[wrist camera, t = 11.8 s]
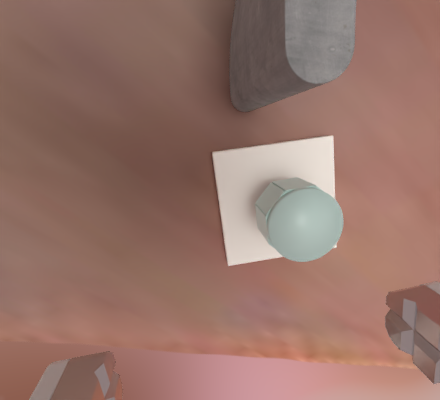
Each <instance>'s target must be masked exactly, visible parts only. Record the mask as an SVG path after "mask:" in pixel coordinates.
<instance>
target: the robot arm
mask: <svg viewBox="0 0 440 400" xmlns="http://www.w3.org/2000/svg"><path fill="white" fill-rule="evenodd" d="M386 305H387V306H388V307H389V308H390V310H389V312H388V313H387V315H386V316H385V326H386V329H387V332H388V335H389V337H390V338H391V340H392V341H393V343H394V344H395V345H396V346H397V347H398V348H399V349H400V350H402V351H404V352H406V353H408V354H410V355H412V360H413V363H414V364H415V365H416V366H417V367H418V368H419V369H420V370H421V371H422V372H423V373H424V374H425V375H426V376H427V377H428V378H429V380H431V382H432V383H434V384H436V383H440V282H437V281H435V282H430V283H426V284H422V285H419V286H414V287H410V288H405V289H401V290H396V291H392V292H389V293H388V295H387V296H386ZM115 363H116V361H115V358H114V355H113V353H112V352H110V351H108V352H103V353H97V354H91V355H86V356H81V357H75V358H72V359H67V360H61V361H56V362H52V363H51V364H50V365H49V366H48V367H47V369H46V370H45V372H44V374H43V376H42V377H41V379H40V381H39V383H38V385H37V387H36V388H35V390H34V392H33V393H32V395H31V397H30V399H29V400H122V396H123V389H122V382H121V379H120V375H119V374H117V373H116V372H114V371H113V370H114V367H115Z"/></svg>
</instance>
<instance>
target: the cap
mask: <svg viewBox="0 0 440 400" xmlns="http://www.w3.org/2000/svg"><path fill="white" fill-rule="evenodd" d="M255 203H256V204H255V210H256V218H257V226H258V229H259V230H260V232H261V233H262V235H263V236H264V238H265V239H266V241H267V242H268V244H269V245H270V246H272V247H273V248H275V249H276V250H277V251H278V252H279V253H280V254H281V255H282V256H284V257H285V258H287V259H290V260H293V261H298V262H306V261H312V260H315V259H318V258H320V257H322V256H323V255H325V254H326V253H328V252H329V251H330V250H331V249H332V248H333V247H334V246H335V244H336V243H337V241H338V240H339V238H340V235H341V233H342V229H343V214H342V210H341V208H340V206H339V204H338V202H337V201H336V200H335V199H334V198H333V197H332V196H331V195H329V194H328V193H325V192H324V191H322V190H321V189H320V188H319V187H317V186H316V185H314V184H312V183H309V182H307V181H305V180H303V179H300V178H298V177H295V178H290V179H284V180H278V181H272V183H270V184H269V185H268V187H267V188H266V189H265V190H264V192H263V193H262V194H261V196H260V197H259V198H258V200H257V201H256V202H255Z"/></svg>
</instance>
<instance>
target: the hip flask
mask: <svg viewBox="0 0 440 400" xmlns="http://www.w3.org/2000/svg"><path fill="white" fill-rule="evenodd" d="M355 15H356V0H236V1H235V8H234V15H233V23H232V32H231V43H230V63H229V76H230V95H231V102H232V104H233V106H234V107H235V108H236V109H237V110H239V111H241V112H249V111H252V110H255V109H258V108H260V107H263V106H266V105H268V104H271V103H274V102H276V101H279V100H282V99H285V98H287V97H290V96H293V95H295V94H298V93H301V92H303V91H306V90H309V89H312V88H314V87H317V86H320V85H322V84H325V83H328V82H330V81H332V80H334V79H336V78H337V77H339V76H340V75H341V74H342V73H343V72H344V71H345V69H346V68H347V66H348V65H349V63H350V61H351V59H352V56H353V52H354V45H355Z"/></svg>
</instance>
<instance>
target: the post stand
mask: <svg viewBox="0 0 440 400" xmlns="http://www.w3.org/2000/svg"><path fill="white" fill-rule="evenodd" d="M212 158H213V165H214V172H215V179H216V187H217V194H218V201H219V208H220V215H221V223H222V230H223V237H224V244H225V251H226V259H227V263H228V266H231V265H237V264H243V263H249V262H255V261H261V260H267V259H272V258H278V257H284V256H282V255H281V254H280V253H279V252H278V251H277V250H276V249H275V248H273V247H272V246H270V245H269V244H268V242H267V241H266V239H265V238H264V236H263V235H262V233H261V232H260V230H259V229H258V226H257V218H256V210H255V204H256V203H255V202H256V201H257V200H258V198H259V197H260V196H261V194H262V193H263V192H264V190H265V189H266V188H267V187H268V185H269V184H270V183H272V181H278V180H284V179H290V178H295V177H298V178H300V179H303V180H305V181H307V182H309V183H312V184H314V185H316V186H317V187H319V188H320V189H321V190H322V191H324V192H325V193H328V194H329V195H331V196H332V197H333V198H334V199H335V178H334V145H333V136H320V137H313V138H306V139H299V140H292V141H285V142H278V143H271V144H264V145H256V146H249V147H242V148H235V149H228V150H221V151H214V152H212ZM333 248H337V244H335V246H334V247H333Z"/></svg>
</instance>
